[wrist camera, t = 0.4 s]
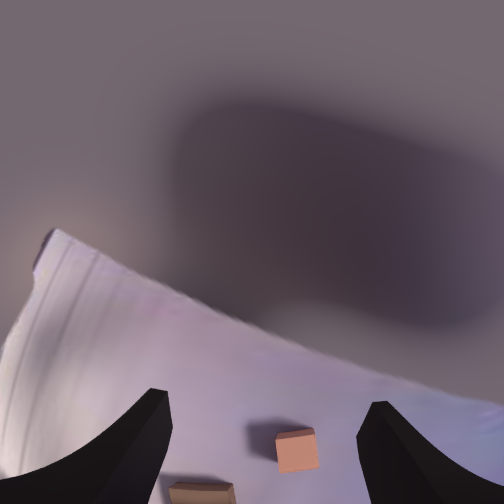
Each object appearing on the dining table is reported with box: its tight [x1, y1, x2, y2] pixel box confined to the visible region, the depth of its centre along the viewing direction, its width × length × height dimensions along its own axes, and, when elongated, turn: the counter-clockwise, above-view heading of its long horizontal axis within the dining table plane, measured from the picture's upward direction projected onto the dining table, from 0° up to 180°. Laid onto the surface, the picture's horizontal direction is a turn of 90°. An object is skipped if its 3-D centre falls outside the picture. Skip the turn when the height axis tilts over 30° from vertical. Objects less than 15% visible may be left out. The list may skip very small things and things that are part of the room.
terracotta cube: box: [275, 428, 319, 473], centre depth 28 cm, size 4×4×4 cm
